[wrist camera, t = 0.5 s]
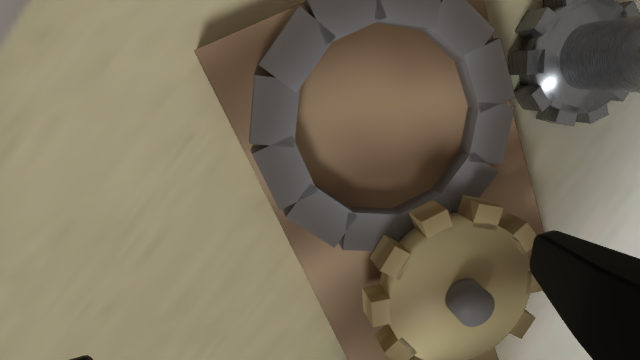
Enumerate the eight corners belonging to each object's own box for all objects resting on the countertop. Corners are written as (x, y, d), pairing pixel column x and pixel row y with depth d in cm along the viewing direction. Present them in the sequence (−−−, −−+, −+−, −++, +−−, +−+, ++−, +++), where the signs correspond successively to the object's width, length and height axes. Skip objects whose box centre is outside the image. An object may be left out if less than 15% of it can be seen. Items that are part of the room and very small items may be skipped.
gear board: (544, 277, 27) (610, 320, 22) (357, 377, 26) (386, 444, 21) (452, -61, 20) (518, -99, 16) (195, 51, 19) (185, 45, 14)
